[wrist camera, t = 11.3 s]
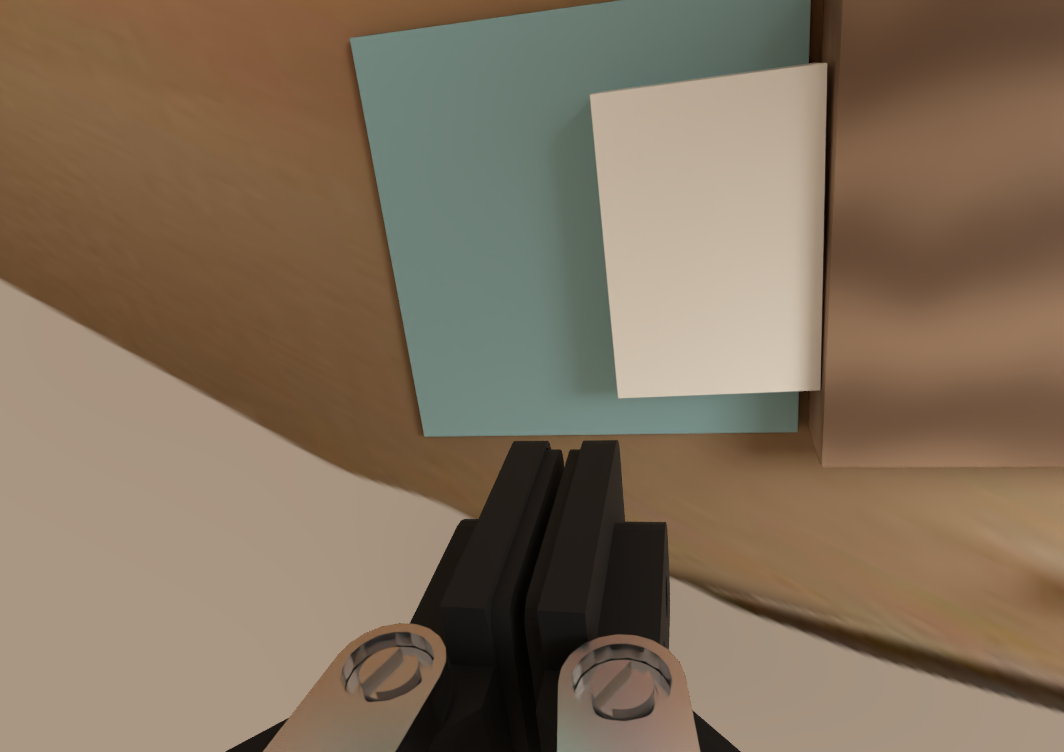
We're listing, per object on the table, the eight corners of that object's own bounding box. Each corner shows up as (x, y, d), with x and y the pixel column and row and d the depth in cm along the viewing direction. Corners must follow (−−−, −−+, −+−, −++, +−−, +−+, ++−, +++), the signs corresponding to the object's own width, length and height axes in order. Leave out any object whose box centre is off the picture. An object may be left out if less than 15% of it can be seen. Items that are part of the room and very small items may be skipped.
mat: (353, 38, 29) (349, 38, 29) (809, -26, 26) (811, -27, 25) (426, 433, 36) (424, 436, 36) (796, 428, 33) (797, 432, 32)
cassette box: (596, 92, 28) (589, 94, 26) (815, 62, 26) (827, 62, 24) (622, 376, 33) (618, 398, 30) (810, 367, 31) (820, 390, 29)
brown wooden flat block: (824, -28, 26) (844, -40, 22) (1381, -106, 22) (1497, -133, 19) (807, 427, 32) (821, 467, 29) (1232, 422, 29) (1299, 466, 26)
